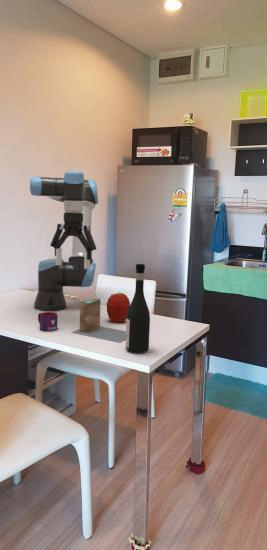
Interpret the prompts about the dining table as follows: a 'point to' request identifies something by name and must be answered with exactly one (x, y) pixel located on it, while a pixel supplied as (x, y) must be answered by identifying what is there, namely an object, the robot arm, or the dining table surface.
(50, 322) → the mug
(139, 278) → the wine bottle
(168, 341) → the dining table surface
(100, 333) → the mat
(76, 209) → the robot arm
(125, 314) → the apple
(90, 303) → the block
